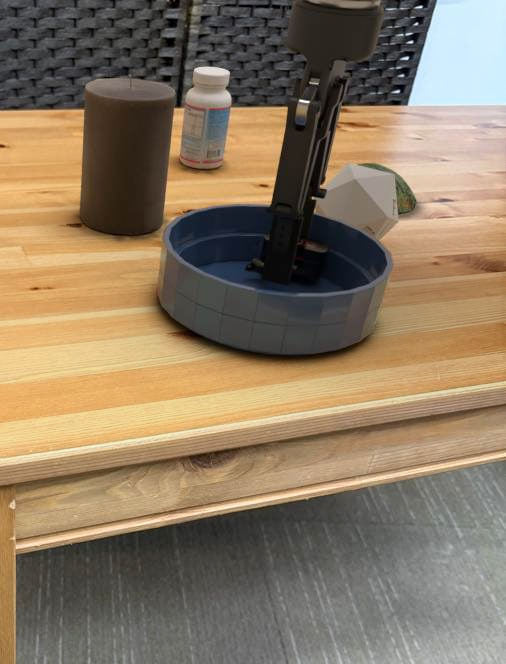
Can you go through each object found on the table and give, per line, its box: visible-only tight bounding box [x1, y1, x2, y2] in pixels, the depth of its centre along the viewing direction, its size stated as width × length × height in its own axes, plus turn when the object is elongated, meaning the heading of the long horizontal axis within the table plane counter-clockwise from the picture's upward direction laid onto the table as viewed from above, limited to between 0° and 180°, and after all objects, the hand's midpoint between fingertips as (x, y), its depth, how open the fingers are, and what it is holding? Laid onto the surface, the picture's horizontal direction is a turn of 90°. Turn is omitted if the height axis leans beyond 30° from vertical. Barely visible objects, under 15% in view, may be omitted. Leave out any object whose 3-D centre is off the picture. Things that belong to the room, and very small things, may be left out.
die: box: [313, 162, 399, 242], centre depth 90 cm, size 8×9×10 cm
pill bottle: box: [179, 66, 232, 170], centre depth 108 cm, size 6×6×11 cm
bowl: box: [156, 203, 395, 356], centre depth 78 cm, size 21×21×6 cm
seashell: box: [356, 162, 417, 214], centre depth 103 cm, size 10×4×10 cm
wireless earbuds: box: [245, 231, 330, 282], centre depth 81 cm, size 5×7×3 cm, turn 65°
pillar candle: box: [79, 74, 176, 236], centre depth 89 cm, size 10×10×15 cm
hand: (282, 271), depth 82 cm, fingers closed on wireless earbuds, 4 cm apart
